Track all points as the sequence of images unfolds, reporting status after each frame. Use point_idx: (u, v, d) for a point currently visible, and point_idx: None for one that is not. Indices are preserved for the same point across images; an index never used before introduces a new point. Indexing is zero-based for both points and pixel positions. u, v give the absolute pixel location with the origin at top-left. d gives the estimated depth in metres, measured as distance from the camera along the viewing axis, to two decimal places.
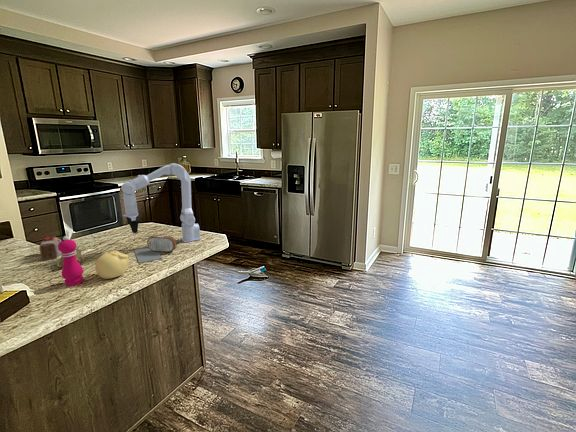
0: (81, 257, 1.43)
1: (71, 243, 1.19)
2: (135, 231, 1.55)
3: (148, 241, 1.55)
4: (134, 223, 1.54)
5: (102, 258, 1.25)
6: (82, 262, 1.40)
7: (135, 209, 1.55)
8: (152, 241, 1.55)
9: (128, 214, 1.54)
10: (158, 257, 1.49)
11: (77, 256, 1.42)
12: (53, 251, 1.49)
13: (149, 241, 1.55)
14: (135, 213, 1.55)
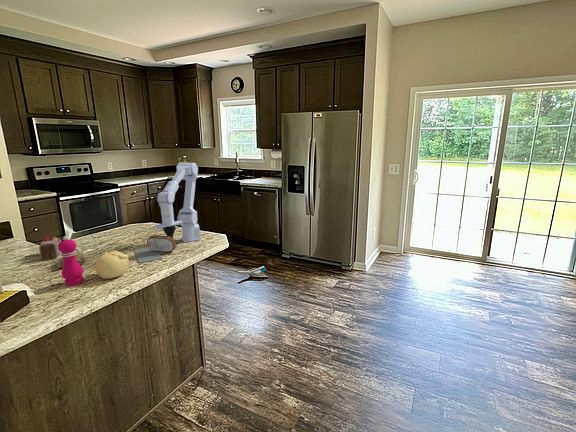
0: (82, 257, 1.43)
1: (71, 243, 1.19)
2: None
3: (148, 241, 1.55)
4: None
5: (102, 258, 1.25)
6: None
7: (165, 219, 1.53)
8: (152, 241, 1.55)
9: None
10: (158, 257, 1.49)
11: (78, 256, 1.42)
12: (53, 251, 1.49)
13: (149, 242, 1.55)
14: (165, 223, 1.53)
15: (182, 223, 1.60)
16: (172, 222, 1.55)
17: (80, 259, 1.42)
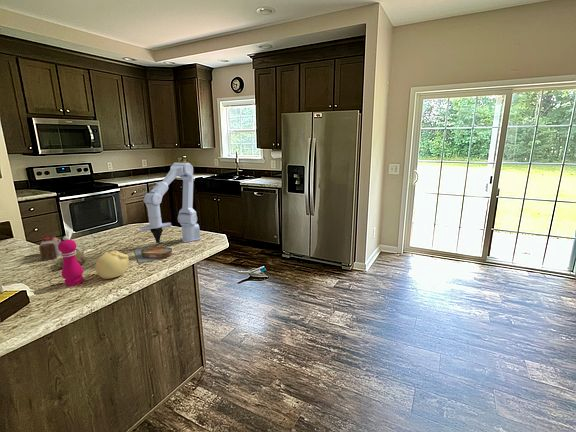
0: (82, 257, 1.43)
1: (71, 243, 1.19)
2: (156, 241, 1.54)
3: None
4: None
5: (102, 258, 1.25)
6: (82, 263, 1.39)
7: (151, 221, 1.50)
8: None
9: None
10: None
11: (78, 256, 1.41)
12: (53, 251, 1.49)
13: None
14: (151, 225, 1.50)
15: (170, 225, 1.56)
16: (158, 224, 1.51)
17: (80, 259, 1.42)
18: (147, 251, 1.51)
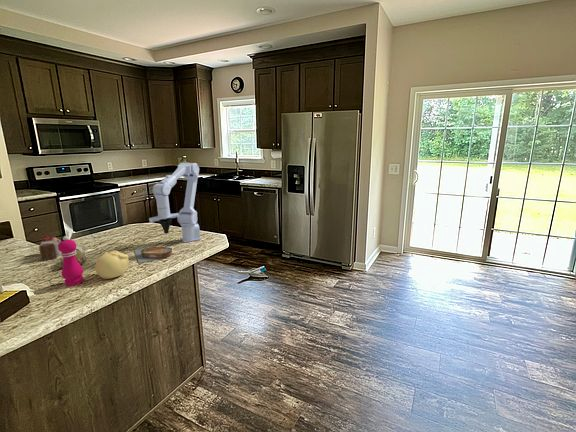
0: (83, 258, 1.42)
1: (71, 243, 1.19)
2: (164, 231, 1.56)
3: None
4: None
5: (102, 258, 1.25)
6: (82, 263, 1.39)
7: (160, 212, 1.51)
8: None
9: None
10: None
11: (79, 257, 1.41)
12: (53, 251, 1.49)
13: None
14: (160, 216, 1.51)
15: (178, 216, 1.58)
16: (168, 214, 1.53)
17: (81, 259, 1.42)
18: (147, 251, 1.51)
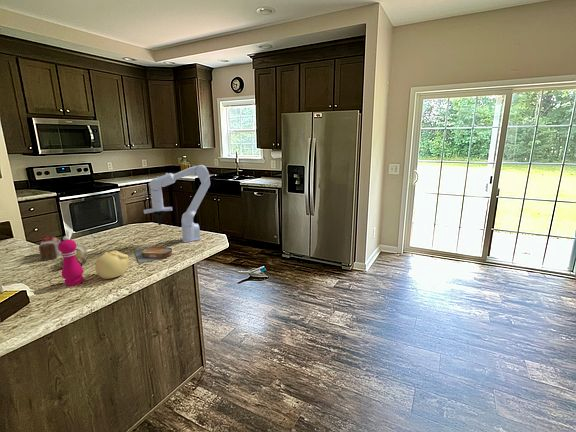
0: (83, 258, 1.42)
1: (71, 243, 1.19)
2: (158, 223, 1.68)
3: None
4: None
5: (102, 258, 1.25)
6: (82, 263, 1.38)
7: (154, 204, 1.64)
8: None
9: None
10: None
11: (79, 257, 1.41)
12: (53, 251, 1.48)
13: None
14: (153, 208, 1.64)
15: None
16: (160, 207, 1.65)
17: (81, 260, 1.41)
18: (147, 251, 1.51)
